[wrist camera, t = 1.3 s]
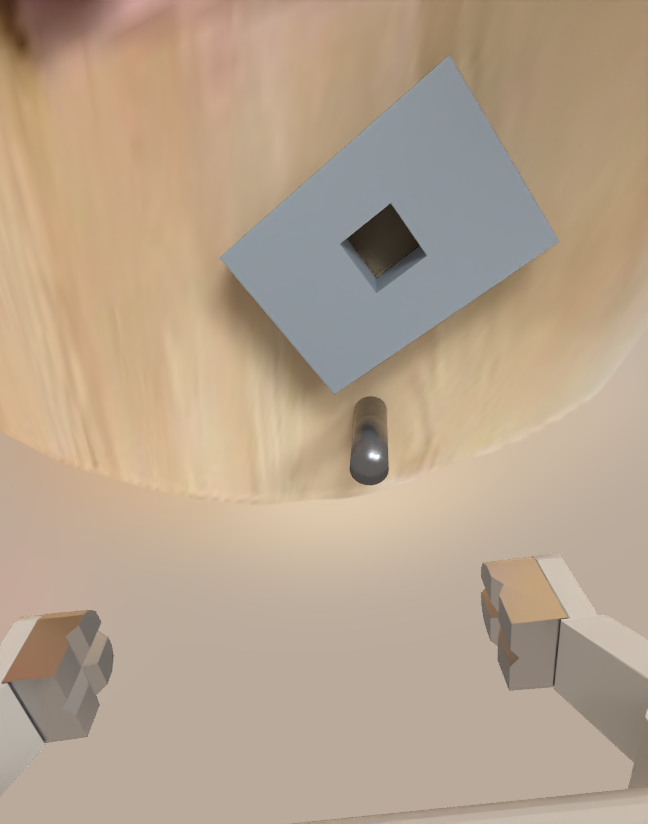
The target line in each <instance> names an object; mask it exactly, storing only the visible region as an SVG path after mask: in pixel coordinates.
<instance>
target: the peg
mask: <svg viewBox="0 0 648 824" xmlns="http://www.w3.org/2000/svg"><path fill="white" fill-rule="evenodd" d="M388 470H389V468H388V435H387V408H386V405H385V404H384V402H383V401H382V400H380V399H379V398H376V397H365V398H363V399H361V400H360V401H359V402H358V403H357V405H356V407H355V415H354V426H353V437H352V448H351V460H350V473H351V475H352V477H353V478H354V479H355V480H356V481H357V482H359V483H361V484H364V485H375V484H378V483H380V482H382V481H383V480H384V479H385V478H386V476H387V474H388Z"/></svg>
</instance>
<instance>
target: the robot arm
mask: <svg viewBox="0 0 648 824" xmlns="http://www.w3.org/2000/svg"><path fill="white" fill-rule="evenodd" d="M481 578H482V580H483V583H484V585H485V589H484V590H483V592H482V593H481V602H482V603H481V604H482V612H483V618H484V622H485V626H486V629H487V632H488V635H489V638H490V640H491V641H492V642H493V643H494V644H496V645H497V646H498V662H499V665H500V668H501V670H502V673H503V675H504V678H505V681H506V683H507V686H508V688H509V690H522V689H535V688H547V687H554V690H555V691H557V692H558V693H559V694H560V695H561V696H562V697H563V698H564V699H565V700H566V701H567V702H569V703H570V704H571V705H572V706H573V707H574V708H575V709H576V710H577V711H578V712H579V713H581V714H582V715H583V716H584V717H585V718H586V719H587V720H588V721H589V722H590V723H591V724H593V725H594V726H595V727H596V728H597V729H598V730H599V731H600V732H601V733H602V734H604V736H606V737H607V738H608V739H609V740H610V741H611V742H612V743H613V744H615V746H617V747H618V748H619V749H620V750H621V751H622V752H623V753H624V754H625V755H626V756H627V757H628V758H629V759H631V760H632V761H633V762H634V766H633V770H632V774H631V779H630V783H629V787H628V789H625V790H615V791H605V792H595V793H585V794H576V795H566V796H556V797H546V798H537V799H528V800H517V801H507V802H497V803H488V804H479V805H470V806H458V807H449V808H439V809H430V810H419V811H410V812H400V813H390V814H380V815H371V816H362V817H351V818H341V819H332V820H322V821H312V822H304V823H293V824H648V640H647V639H645V638H644V637H642V636H640V635H639V634H637V633H635V632H634V631H632V630H631V629H629V628H627V627H626V626H624V625H622V624H621V623H619V622H617V621H616V620H614V619H612V618H611V617H609V616H607V615H598V614H597V613H596V611H595V609H594V608H593V606H592V605H591V603H590V602H589V600H588V598H587V597H586V595H585V594H584V592H583V590H582V589H581V587H580V586H579V584H578V582H577V581H576V580H575V578H574V576H573V574H572V573H571V571H570V570H569V569H568V567H567V565H566V563H565V562H564V560H563V559H562V557H561V556H560V555H558V554H557V553H553V554H546V555H539V556H532V557H524V558H516V559H508V560H500V561H493V562H485V563H483V564H482V567H481ZM100 624H101V620H100V619H99V617H98V615H97V613H96V611H92V610H85V611H74V612H63V613H53V614H45V615H36V616H26V617H21V618H20V619H18V620H17V621H15V622H14V624H13V625H12V627H11V629H10V630H9V632H8V633H7V635H6V636H5V638H4V639H3V641H2V643H1V644H0V797H1V796H2V795H3V793H4V792H5V791H6V790H7V789H8V788H9V787H10V786H11V784H12V783H13V782H14V781H15V780H16V779H17V778H18V776H19V775H20V774H21V773H22V772H23V771H24V769H25V768H26V767H27V766H28V765H29V764H30V763H31V761H32V760H33V759H34V758H35V757H36V756H37V755H38V753H39V752H40V751H41V750H42V749H43V748H44V747H45V743H48V742H54V741H62V740H69V739H76V738H83V737H87V736H88V734H89V731H90V729H91V726H92V723H93V721H94V718H95V715H96V713H97V710H98V708H99V702H98V699H97V696H96V695H97V694H98V693H99V692H100V691H101V690H102V689H103V688H104V687H105V686H106V685H107V684H108V681H109V678H110V675H111V672H112V666H113V650H112V645H111V643H110V640H109V638H108V637H107V636H106V635H104V634H103V633H101V632H99V631H98V628H99V626H100Z"/></svg>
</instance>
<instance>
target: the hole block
mask: <svg viewBox="0 0 648 824" xmlns="http://www.w3.org/2000/svg"><path fill="white" fill-rule="evenodd" d="M390 203H391V204H392V206H393V207H394V209H395V210H396V211H397V213H398V214H399V216H400V217H401V219H402V220H403V222H404V223H405V224H406V226H407V227H408V229H409V230H410V232H411V233H412V235H413V236H414V238H415V239H416V240H417V242H418V243H419V245H420V246H419V247H417V248H416V249H415V250H413V251H412V252H411V253H409V254H408V255H407V256H405V257H404V258H403V259H401V260H400V261H399V262H397V263H396V264H395V265H393V266H392V267H391V268H389V269H388V270H387V271H386V272H384V273H383V274H382V275H380V276H379V277H378V278H376V277H375V275H374V274H373V273H372V271H371V270H370V269H369V267H368V266H367V264H366V263H365V262H364V260H363V259H362V258H361V256H360V255H359V254H358V252H357V251H356V250H355V248H354V247H353V245H352V244H351V243H350V241H349V240H348V239H347V238H348V237H349V236H350V235H352V234H353V233H354V232H355V231H357V230H358V229H359V228H360V227H362V226H363V225H364V224H365V223H367V222H368V221H369V220H370V219H372V218H373V217H374V216H375V215H377V214H378V213H379V212H380V211H382V210H383V209H384V208H385V207H387V206H388V205H389V204H390ZM558 242H559V240H558V238H557V237H556V235H555V233H554V232H553V230H552V228H551V227H550V225H549V223H548V221H547V220H546V218H545V216H544V215H543V213H542V211H541V210H540V208H539V206H538V204H537V203H536V201H535V199H534V198H533V196H532V194H531V193H530V191H529V189H528V188H527V186H526V184H525V182H524V181H523V179H522V177H521V176H520V174H519V172H518V171H517V169H516V167H515V165H514V164H513V162H512V160H511V159H510V157H509V155H508V154H507V152H506V150H505V148H504V147H503V145H502V143H501V142H500V140H499V138H498V137H497V135H496V133H495V132H494V130H493V128H492V126H491V125H490V123H489V121H488V120H487V118H486V116H485V115H484V113H483V111H482V109H481V108H480V106H479V104H478V103H477V101H476V99H475V98H474V96H473V94H472V92H471V91H470V89H469V87H468V86H467V84H466V82H465V81H464V79H463V77H462V76H461V74H460V72H459V70H458V69H457V67H456V65H455V64H454V62H453V60H452V59H451V57H450V55H449V56H448V57H446V58H445V59H444V60H443V61H442V62H441V63H440V64H439V65H437V66H436V67H435V68H434V69H433V70H432V71H431V72H429V73H428V74H427V75H426V76H425V77H424V78H423V79H422V80H420V81H419V82H418V83H417V84H416V85H415V86H414V87H412V88H411V89H410V90H409V91H408V92H407V93H406V94H405V95H403V96H402V97H401V98H400V99H399V100H398V101H397V102H395V103H394V104H393V105H392V106H391V107H390V108H389V109H387V110H386V111H385V112H384V113H383V114H382V115H381V116H380V117H378V118H377V119H376V120H375V121H374V122H373V123H372V124H370V125H369V126H368V127H367V128H366V129H365V130H364V131H363V132H361V133H360V134H359V135H358V136H357V137H356V138H355V139H353V140H352V141H351V142H350V143H349V144H348V145H347V146H346V147H344V148H343V149H342V150H341V151H340V152H339V153H338V154H336V155H335V156H334V157H333V158H332V159H331V160H330V161H329V162H327V163H326V164H325V165H324V166H323V167H322V168H321V169H319V170H318V171H317V172H316V173H315V174H314V175H313V176H311V177H310V178H309V179H308V180H307V181H306V182H305V183H304V184H302V185H301V186H300V187H299V188H298V189H297V190H296V191H294V192H293V193H292V194H291V195H290V196H289V197H288V198H287V199H285V200H284V201H283V202H282V203H281V204H280V205H279V206H277V207H276V208H275V209H274V210H273V211H272V212H271V213H270V214H268V215H267V216H266V217H265V218H264V219H263V220H262V221H260V222H259V223H258V224H257V225H256V226H255V227H254V228H253V229H251V230H250V231H249V232H248V233H247V234H246V235H245V236H243V237H242V238H241V239H240V240H239V241H238V242H237V243H235V244H234V245H233V246H232V247H231V248H230V249H229V250H228V251H226V252H225V253H224V254H223V255H222V256H221V257H220V259H221V260H222V261H223V263H224V264H225V265H226V266H227V267H228V269H229V270H230V271H231V272H232V273H233V275H234V276H235V277H236V278H237V279H238V280H239V282H240V283H241V284H242V285H243V286H244V288H245V289H246V290H247V291H248V292H249V294H250V295H251V296H252V297H253V298H254V300H255V301H256V302H257V303H258V304H259V306H260V307H261V308H262V309H263V310H264V311H265V313H266V314H267V315H268V316H269V317H270V319H271V320H272V321H273V322H274V323H275V325H276V326H277V327H278V328H279V329H280V331H281V332H282V333H283V334H284V335H285V336H286V338H287V339H288V340H289V341H290V342H291V344H292V345H293V346H294V347H295V348H296V350H297V351H298V352H299V353H300V354H301V356H302V357H303V358H304V359H305V360H306V362H307V363H308V364H309V365H310V366H311V367H312V369H313V370H314V371H315V372H316V373H317V375H318V376H319V377H320V378H321V379H322V381H323V382H324V383H325V384H326V385H327V387H328V388H329V389H330V390H331V391H332V393H333V394H336V393H337V392H339V391H340V390H342V389H343V388H345V387H346V386H348V385H349V384H351V383H352V382H353V381H355V380H356V379H358V378H359V377H361V376H362V375H364V374H365V373H367V372H368V371H370V370H371V369H373V368H374V367H376V366H377V365H379V364H380V363H381V362H383V361H384V360H386V359H387V358H389V357H390V356H392V355H393V354H395V353H396V352H398V351H399V350H401V349H402V348H404V347H405V346H406V345H408V344H409V343H411V342H412V341H414V340H415V339H417V338H418V337H420V336H421V335H423V334H424V333H426V332H427V331H429V330H430V329H431V328H433V327H434V326H436V325H437V324H439V323H440V322H442V321H443V320H445V319H446V318H448V317H449V316H451V315H452V314H454V313H455V312H456V311H458V310H459V309H461V308H462V307H464V306H465V305H467V304H468V303H470V302H471V301H473V300H474V299H476V298H477V297H479V296H480V295H481V294H483V293H484V292H486V291H487V290H489V289H490V288H492V287H493V286H495V285H496V284H498V283H499V282H501V281H502V280H504V279H505V278H506V277H508V276H509V275H511V274H512V273H514V272H515V271H517V270H518V269H520V268H521V267H523V266H524V265H526V264H527V263H529V262H530V261H531V260H533V259H534V258H536V257H537V256H539V255H540V254H542V253H543V252H545V251H546V250H548V249H549V248H551V247H552V246H554V245H555V244H556V243H558Z"/></svg>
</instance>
